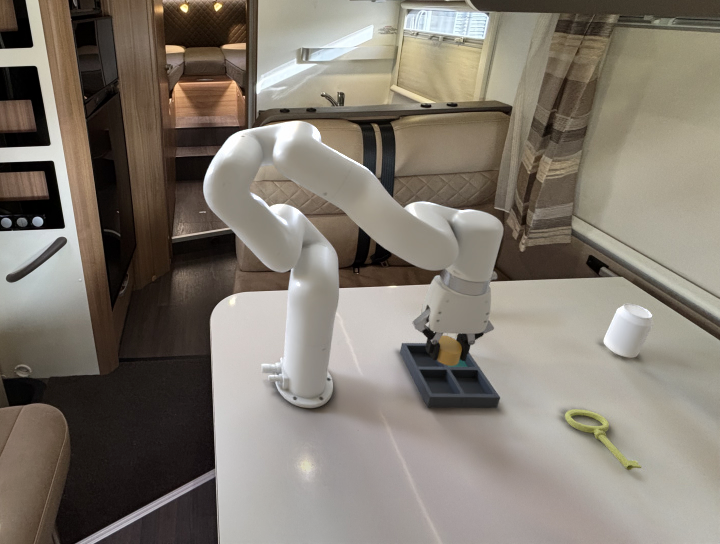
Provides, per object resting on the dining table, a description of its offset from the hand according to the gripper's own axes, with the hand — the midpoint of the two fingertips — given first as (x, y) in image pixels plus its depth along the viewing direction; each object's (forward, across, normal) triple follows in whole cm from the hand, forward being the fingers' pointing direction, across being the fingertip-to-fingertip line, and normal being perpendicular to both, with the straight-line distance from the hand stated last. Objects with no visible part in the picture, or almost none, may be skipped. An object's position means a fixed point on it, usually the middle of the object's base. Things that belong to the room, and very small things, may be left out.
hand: (445, 354), depth 82 cm
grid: (+16, -6, -8) cm, 19 cm away
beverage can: (+17, -52, -18) cm, 58 cm away
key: (+16, -30, +4) cm, 34 cm away
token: (0, 0, 0) cm, 0 cm away
